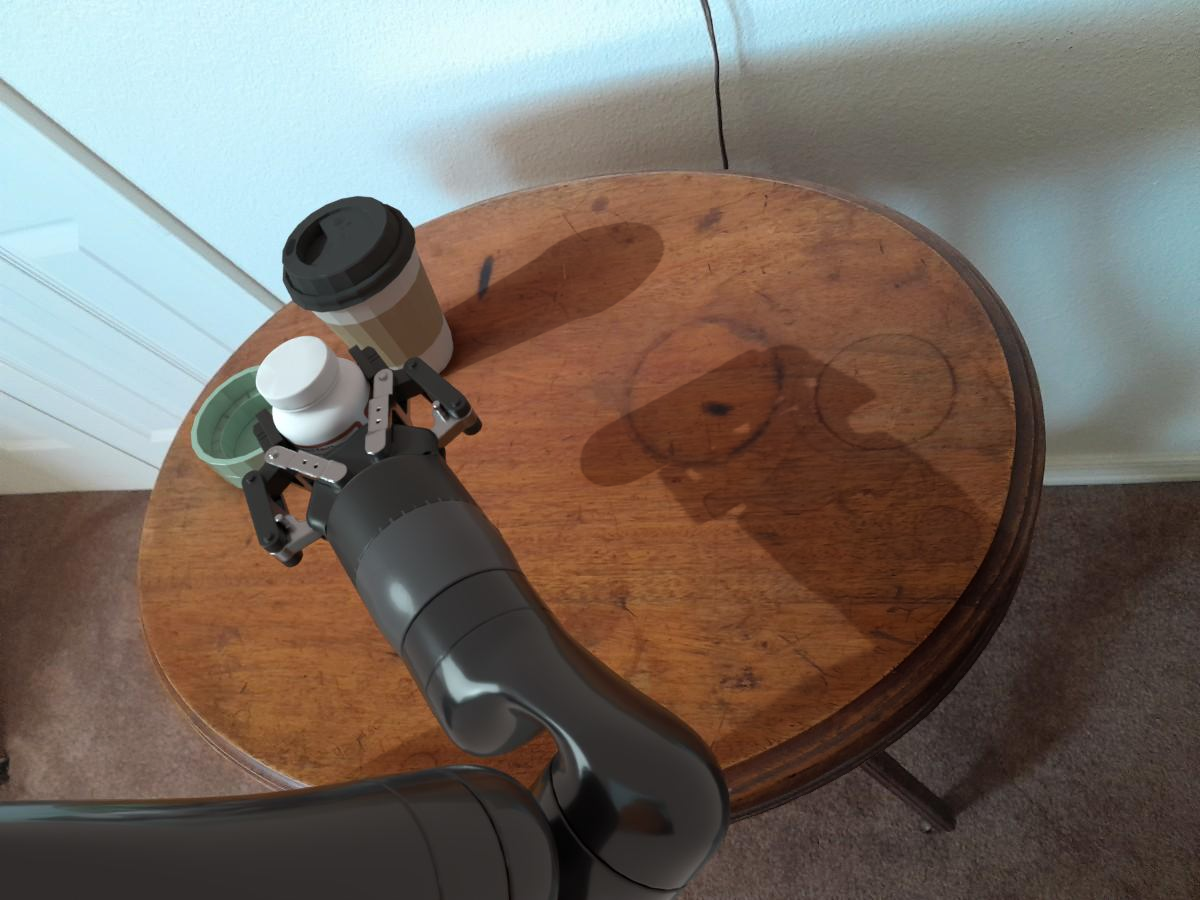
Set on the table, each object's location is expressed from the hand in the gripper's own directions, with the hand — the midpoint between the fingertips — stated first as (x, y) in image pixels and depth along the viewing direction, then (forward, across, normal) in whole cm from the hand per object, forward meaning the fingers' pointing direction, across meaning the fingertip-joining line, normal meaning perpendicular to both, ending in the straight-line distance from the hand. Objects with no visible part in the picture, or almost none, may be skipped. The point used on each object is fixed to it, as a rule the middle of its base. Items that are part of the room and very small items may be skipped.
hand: (313, 387), depth 54 cm
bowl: (+19, +7, +18) cm, 27 cm away
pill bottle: (-2, 0, +7) cm, 8 cm away
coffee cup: (+17, -8, +18) cm, 26 cm away
